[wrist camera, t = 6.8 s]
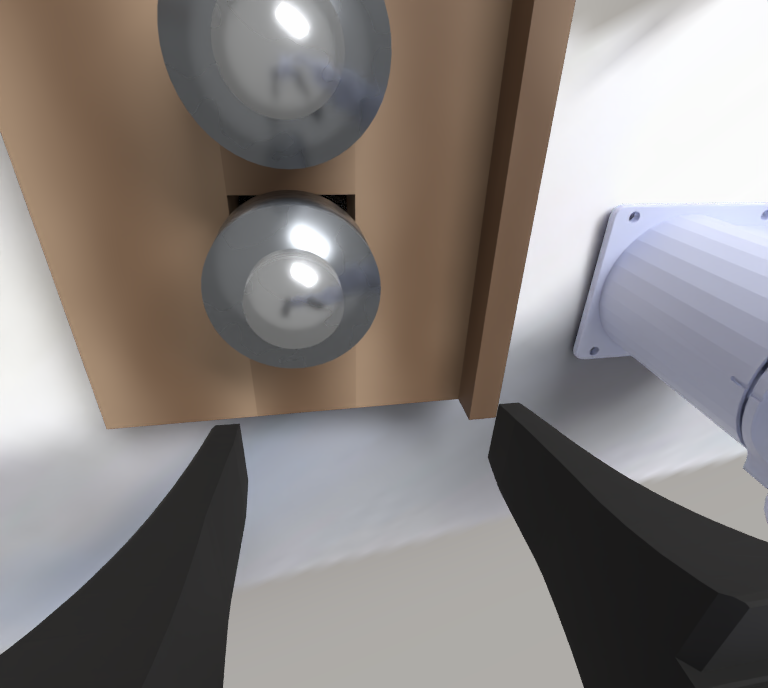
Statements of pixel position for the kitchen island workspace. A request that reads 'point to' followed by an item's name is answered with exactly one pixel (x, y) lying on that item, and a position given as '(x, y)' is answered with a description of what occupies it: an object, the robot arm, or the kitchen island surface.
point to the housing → (241, 177)
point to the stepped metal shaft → (290, 280)
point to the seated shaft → (278, 73)
